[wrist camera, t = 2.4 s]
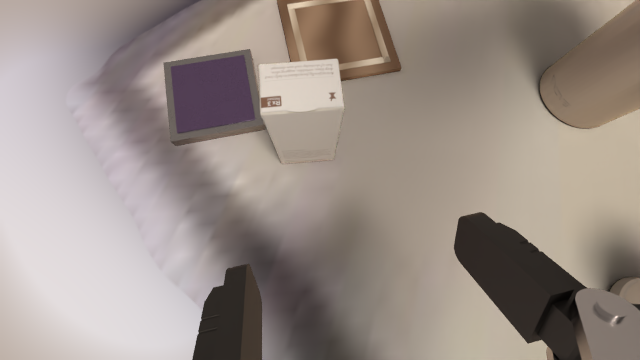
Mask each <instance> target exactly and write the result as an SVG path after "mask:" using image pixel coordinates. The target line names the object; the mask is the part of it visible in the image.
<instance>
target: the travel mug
mask: <svg viewBox="0 0 640 360" xmlns="http://www.w3.org/2000/svg"><path fill="white" fill-rule="evenodd" d="M610 293H613V294H615V295H618V296H620V297H621V298H623V299H625V300H627V301H628V302H630V303H631V304H640V278H638V277H626V278H623V279H620V280H619V281H617V282H616V283H615V284H614V285H613V286H612V288H611V289H610Z"/></svg>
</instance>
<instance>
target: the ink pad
mask: <svg viewBox="0 0 640 360" xmlns="http://www.w3.org/2000/svg"><path fill="white" fill-rule="evenodd" d="M164 73H165V84H166V96H167V107H168V118H169V129H170V140H171V142H172V143H173V144H174V145H175V146H178V145H184V144H189V143H194V142H200V141H205V140H211V139H216V138H222V137H227V136H232V135H238V134H243V133H249V132H254V131H260V130H265V124H264V121H263V119H262V117H261V115H260V96H259V91H258V86H257V80H256V75H255V69H254V64H253V58H252V54H251V51H250V49H248V50H241V51H235V52H229V53H222V54H216V55H210V56H203V57H197V58H191V59H184V60H178V61H172V62H165V63H164Z"/></svg>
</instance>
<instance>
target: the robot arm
mask: <svg viewBox="0 0 640 360" xmlns="http://www.w3.org/2000/svg"><path fill="white" fill-rule="evenodd" d="M540 93H541V96H542V99H543V101H544V103H545V105H546V106H547V108H548V109H549V110H550V111H551V112H552V114H554V115H555V116H556V117H557V118H558V119H560V120H561V121H563V122H565V123H567V124H569V125H572V126H574V127H579V128H594V127H599V126H601V125H603V124H605V123H608V122H610V121H612V120H615V119H617V118H619V117H621V116H624V115H626V114H628V113H631V112H633V111H635V110H638V109H640V0H635V1H634V2H633V3H632V4H630V5H629V6H628V7H626V8H625V9H624V10H623V11H621V12H620V13H619V14H617V15H616V16H615V17H614V18H612V19H611V20H610V21H608V22H607V23H606V24H605V25H603V26H602V27H601V28H599V29H598V30H597V31H596V32H594V33H593V34H592V35H590V36H589V37H588V38H587V39H585V40H584V41H583V42H581V43H580V44H579V45H577V46H576V47H575V48H573V49H572V50H571V51H570V52H568V53H567V54H566V55H565V56H563V57H562V58H561V59H559V60H558V61H557V62H556V63H554V64H553V65H552V66H550V67H549V68H548V69H547V70H546V71H545V72H544V73H543V75H542V78H541V80H540ZM454 250H455V254H456V256H457V258H458V260H459V262H460V263H461V264H462V265H463V266H464V268H465V269H466V270H467V271H468V272H469V274H470V275H471V276H472V277H473V278H474V280H475V281H476V282H477V283H478V284H479V286H480V287H481V288H482V289H483V290H484V292H485V293H486V294H487V295H488V296H489V298H490V299H491V300H492V301H493V302H494V304H495V305H496V306H497V307H498V308H499V309H500V311H501V312H502V313H503V314H504V315H505V317H506V318H507V319H508V320H509V321H510V323H511V324H512V325H513V326H514V327H515V329H516V330H517V331H518V332H519V333H520V335H521V336H522V337H523V338H524V339H525V341H526V342H527V343H532V342H535V341H539V340H543V341H544V342H545V343H546V345H547V346H548V347H547V350H546V355H547V360H640V304H631V303H630V302H628V301H627V300H625V299H623V298H621V297H620V296H618V295H615V294H613V293H610V292H608V291H604V290H601V289H594V288H586V287H585V286H584V285H582V284H581V283H580V282H579V281H577V280H576V279H575V278H574V277H572V276H571V275H570V274H569V273H568V272H566V271H565V270H564V269H563V268H561V267H560V266H559V265H558V264H556V263H555V262H554V261H553V260H551V259H550V258H549V257H548V256H546V255H545V254H544V253H543V252H542V251H541V252H540V251H539V250H538V248H537V247H535V246H534V245H533V244H532V243H529V242H528V240H527V239H525V238H524V237H523V236H522V235H520V234H519V233H518V232H517V231H515V230H514V229H512V228H509V227H507V226H505V225H503V224H501V223H495V222H494V221H493V220H492V219H491V218H489V217H488V216H487V215H486V214H484V213H482V212H479V213H475V214H471V215H466V216H462V217H460V218H459V221H458V226H457V232H456V238H455V244H454ZM201 319H202V321H201V322H200V326H199V334H198V336H197V340H196V345H195V350H194V355H193V360H262V302H261V296H260V291H259V289H258V286H257V283H256V280H255V278H254V275H253V272H252V269H251V267H250V265H249V264H246V265H241V266H237V267H232V268H228V269H227V270H226V274H225V281H224V285H223V286H219V287H214V288H213V289H212V291H211V293H210V294H209V296H208V297H207V299H206V301H205V302H204V307H203V312H202V317H201Z"/></svg>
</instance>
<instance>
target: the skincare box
mask: <svg viewBox="0 0 640 360" xmlns="http://www.w3.org/2000/svg"><path fill="white" fill-rule="evenodd" d="M258 76H259V96H260V115H261V117H262V119H263V121H264V123H265V126H266V128H267V130H268V133H269V135H270V137H271V140H272V142H273V145H274V147H275V149H276V152H277V154H278V156H279V159H280V161H281V163H282V164H288V163H300V162H313V161H327V160H334V157H335V152H336V147H337V143H338V138H339V134H340V129H341V124H342V117H343V113H344V110H345V105H344V100H343V93H342V86H341V79H340V71H339V62H338V59H326V60H313V61H299V62H285V63H271V64H259V65H258Z"/></svg>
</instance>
